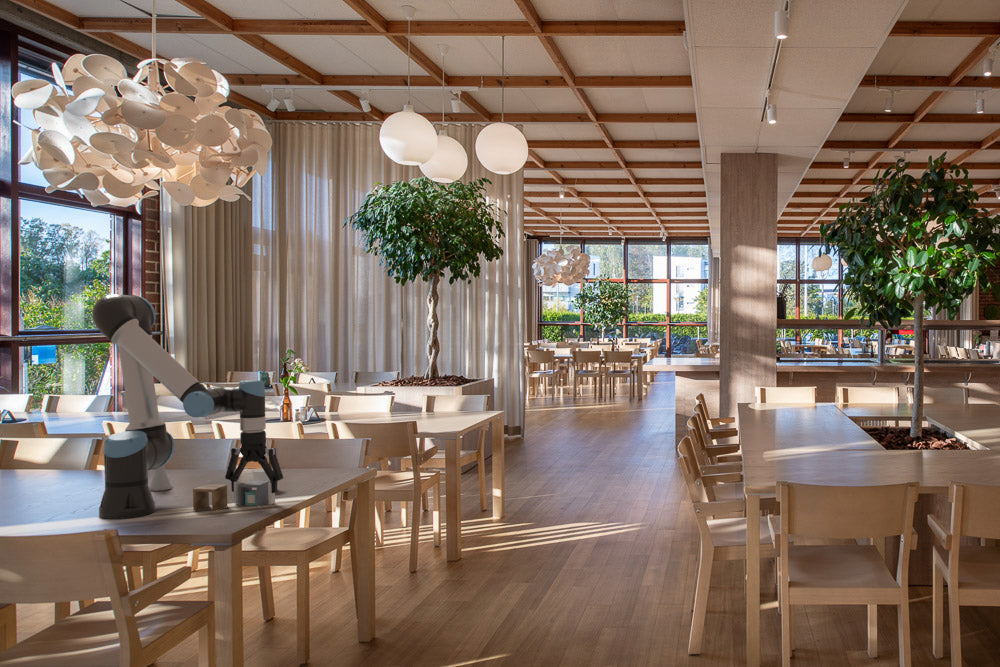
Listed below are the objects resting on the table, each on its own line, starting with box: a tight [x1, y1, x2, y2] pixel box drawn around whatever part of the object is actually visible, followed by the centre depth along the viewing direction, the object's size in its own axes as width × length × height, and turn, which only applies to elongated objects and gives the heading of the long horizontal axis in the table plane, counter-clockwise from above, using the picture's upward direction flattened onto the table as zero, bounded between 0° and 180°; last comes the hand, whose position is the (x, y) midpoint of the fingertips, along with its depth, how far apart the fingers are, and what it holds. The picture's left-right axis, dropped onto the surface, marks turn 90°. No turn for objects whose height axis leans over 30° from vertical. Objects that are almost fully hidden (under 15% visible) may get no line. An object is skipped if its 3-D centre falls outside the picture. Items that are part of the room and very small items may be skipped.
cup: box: [251, 467, 273, 482], centre depth 287 cm, size 8×10×7 cm
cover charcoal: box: [237, 479, 270, 507], centre depth 266 cm, size 7×7×6 cm
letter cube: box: [244, 489, 257, 506], centre depth 266 cm, size 4×4×4 cm
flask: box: [149, 464, 173, 492], centre depth 292 cm, size 7×7×10 cm
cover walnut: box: [192, 483, 228, 512], centre depth 260 cm, size 7×7×6 cm
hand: (254, 503), depth 266 cm, fingers open, 11 cm apart
